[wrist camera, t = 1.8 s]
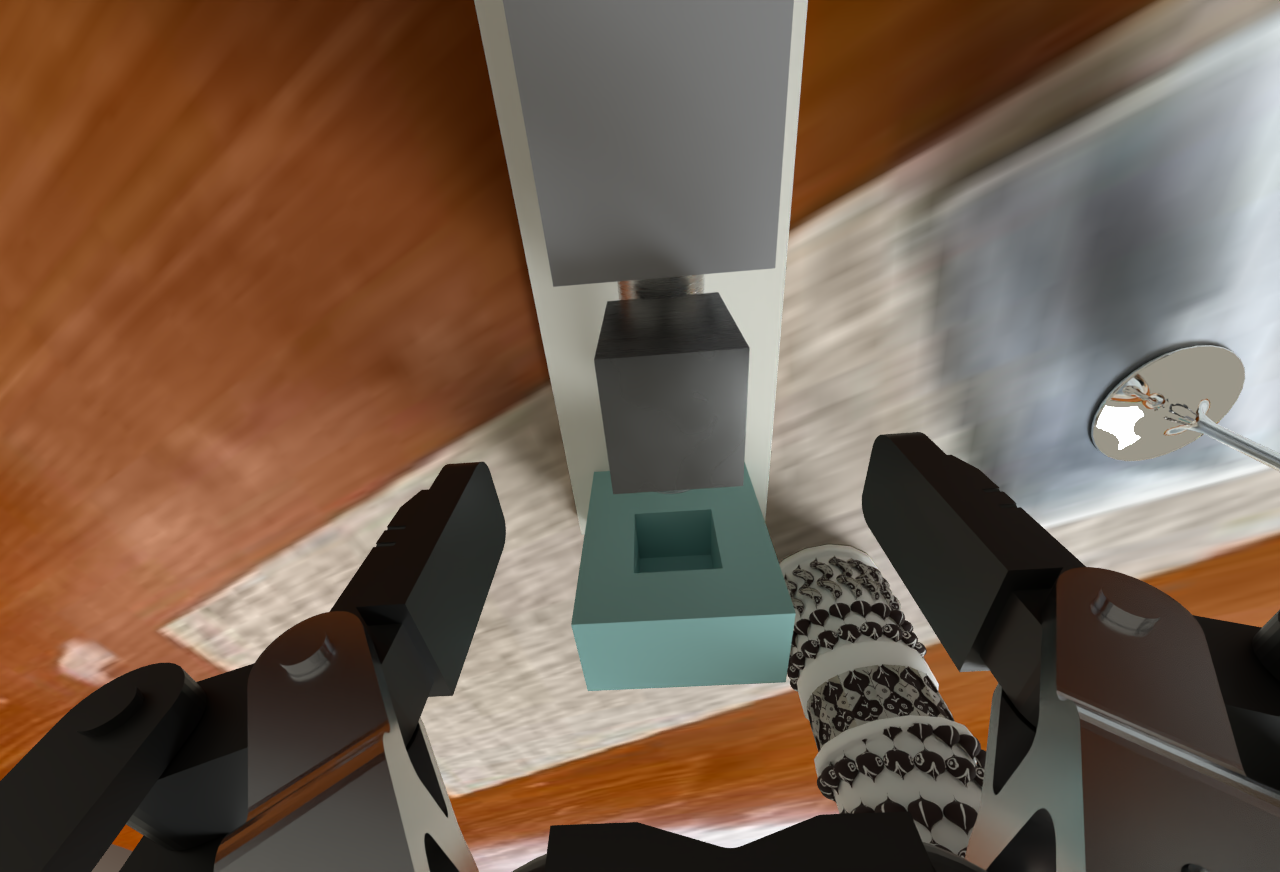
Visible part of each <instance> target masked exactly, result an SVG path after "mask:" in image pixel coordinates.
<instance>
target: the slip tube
mask: <svg viewBox="0 0 1280 872" xmlns="http://www.w3.org/2000/svg"><path fill="white" fill-rule="evenodd" d="M617 284H618V294H619V300H616V301H607V305H606V309H605V313H604V318H603V322H602V327H601V331H600V335H599V340H598V344H597V349H596V353H595V357H594V364H595V371H596V378H597V385H598V392H599V399H600V406H601V413H602V420H603V427H604V434H605V441H606V448H607V455H608V462H609V469H610V476H611V483H612V490H613V494H626V493H642V492H657V493H663V494H677V493H683V492H687V491H689V490H692V489H705V488H721V487H737V486H743V482H744V460H745V438H746V417H747V395H748V373H749V351H750V348H749V346H748V344H747V342H746V341H745V339H744V337H743V335H742V333H741V332H740V330H739V328H738V326H737V325H736V323H735V321H734V319H733V317H732V316H731V314H730V312H729V310H728V309H727V307H726V305H725V303H724V301H723V300H722V298H721V296H720V294H719V293H718V292H714V293H705V289H704V274H701V275H689V276H677V277H665V278H653V279H641V280H629V281H617Z"/></svg>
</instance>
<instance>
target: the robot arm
mask: <svg viewBox="0 0 1280 872" xmlns="http://www.w3.org/2000/svg"><path fill="white" fill-rule="evenodd" d="M862 509H863V514H864V518H865V521H866V523H867V525H868V527H869V528H870V530H871V532H872V533H873V535H874V536H875V538H876V539H877V541H878V543H879V544H880V546H881V547H882V549H883V551H884V552H885V554H886V555H887V557H888V559H889V560H890V562H891V563H892V565H893V567H894V568H895V570H896V571H897V573H898V575H899V576H900V578H901V579H902V581H903V583H904V584H905V586H906V587H907V589H908V591H909V592H910V594H911V595H912V597H913V598H914V600H915V602H916V603H917V605H918V606H919V608H920V610H921V611H922V613H923V614H924V616H925V618H926V619H927V621H928V622H929V624H930V626H931V627H932V629H933V630H934V632H935V634H936V635H937V637H938V638H939V640H940V642H941V643H942V645H943V646H944V648H945V650H946V651H947V653H948V654H949V656H950V657H951V659H952V661H953V662H954V664H955V665H956V667H957V669H958V670H959V672H968V671H987V670H990V671H991V673H992V674H993V675H994V677H995V678H996V680H997V681H998V685H997V687H996V689H995V691H994V693H993V698H992V707H991V716H990V725H989V734H988V743H987V751H986V760H985V769H984V778H983V787H982V796H981V803H980V808H979V812H978V816H977V819H976V822H975V825H974V827H973V830H972V833H971V836H970V839H969V843H968V846H967V850H966V855H965V859H964V858H962V857H960V856H958V855H956V854H954V853H951V852H949V851H947V850H944V849H942V848H939V847H937V846H934V845H932V844H929V843H925V842H922V840H921V837H920V835H919V832H918V830H917V828H916V825H915V823H914V820H913V818H912V816H911V813H910V811H905V812H880V813H855V814H830V815H818V816H816V817H813V818H811V819H808V820H806V821H803V822H801V823H798V824H796V825H793V826H791V827H788V828H786V829H783V830H781V831H778V832H776V833H773V834H771V835H768V836H766V837H763V838H761V839H758V840H756V841H753V842H751V843H748V844H746V845H743V846H740V847H737V848H724V847H720V846H716V845H713V844H709V843H706V842H703V841H699V840H696V839H692V838H689V837H686V836H682V835H679V834H675V833H672V832H668V831H665V830H662V829H658V828H655V827H651V826H648V825H645V824H641V823H638V822H630V823H605V824H580V825H555V826H550V834H549V841H548V849H547V854H545V855H543V856H540V857H538V858H536V859H534V860H532V861H530V862H528V863H527V864H525V865H523V866H521V867H519V868H518V869H516V870H514V871H513V872H1280V610H1279V611H1278V612H1277V613H1276V614H1275V615H1274V616H1273V617H1272V618H1271V619H1270V620H1269V621H1268V622H1267V623H1266V624H1265V625H1264V626H1263V627H1262V628H1261V627H1255V626H1250V625H1244V624H1238V623H1233V622H1227V621H1222V620H1216V619H1210V618H1205V617H1199V616H1194V615H1192V614H1191V613H1190V612H1189V611H1188V610H1187V609H1185V608H1184V607H1183V606H1182V605H1181V604H1180V603H1178V602H1177V601H1176V600H1174V599H1173V598H1171V597H1170V596H1169V595H1167V594H1165V593H1164V592H1162V591H1160V590H1159V589H1157V588H1155V587H1153V586H1151V585H1149V584H1147V583H1145V582H1143V581H1140V580H1138V579H1136V578H1133V577H1131V576H1128V575H1125V574H1122V573H1118V572H1115V571H1111V570H1106V569H1101V568H1092V567H1086V566H1085V565H1083V564H1082V563H1081V562H1080V561H1079V560H1078V559H1077V558H1076V557H1075V556H1074V555H1072V554H1071V553H1070V552H1069V551H1068V550H1067V549H1066V548H1065V547H1064V546H1063V545H1062V544H1060V543H1059V542H1058V541H1057V540H1056V539H1055V538H1054V537H1053V536H1052V535H1051V534H1049V533H1048V532H1047V531H1046V530H1045V529H1044V528H1043V527H1042V526H1041V525H1040V524H1038V523H1037V522H1036V521H1035V520H1034V519H1033V518H1032V517H1031V516H1030V515H1029V514H1027V513H1026V512H1025V511H1024V510H1023V509H1022V508H1021V507H1020V508H1017V506H1016V503H1015V502H1014V501H1013V500H1012V499H1011V498H1010V497H1009V496H1008V495H1007V494H1006V493H1004V492H1000V491H999V487H998V486H997V485H996V484H995V483H993V482H992V481H991V480H990V479H989V478H988V477H987V476H986V475H985V474H984V473H982V472H981V471H980V470H979V469H977V468H975V467H973V466H972V465H970V464H968V463H966V462H964V461H962V460H960V459H958V458H956V457H955V456H953V455H946V454H945V453H944V452H943V451H942V450H941V449H940V448H939V447H938V446H937V445H936V444H935V443H934V442H932V441H931V440H930V439H929V438H928V437H927V436H926V435H925V434H923V433H921V432H913V433H899V434H885V435H879V436H878V437H877V438H876V440H875V441H874V444H873V448H872V453H871V457H870V462H869V466H868V471H867V476H866V480H865V485H864V490H863V494H862ZM387 527H388V530H385V531H384V532H383V534H382V535H381V537H380V538H379V540H378V541H377V543H376V544H377V546H376V547H373V549H372V550H371V552H370V553H369V554H368V556H367V557H366V559H365V560H364V562H363V563H362V565H361V566H360V568H359V569H358V571H357V572H356V574H355V575H354V577H353V578H352V580H351V581H350V582H349V584H348V585H347V587H346V588H345V590H344V591H343V593H342V594H341V596H340V597H339V599H338V600H337V602H336V603H335V605H334V606H333V608H332V609H331V611H330V612H327V613H322V614H319V615H316V616H313V617H311V618H308V619H306V620H304V621H302V622H300V623H298V624H296V625H295V626H293V627H291V628H290V629H288V630H287V631H285V632H284V633H283V634H282V635H280V636H279V637H278V638H276V639H275V640H274V641H273V642H272V643H271V644H270V645H269V646H268V647H267V648H266V649H265V650H264V651H263V653H262V654H261V655H260V656H259V658H258V659H257V661H256V662H255V663H254V664H251V665H248V666H245V667H242V668H239V669H236V670H233V671H229V672H226V673H223V674H220V675H217V676H214V677H211V678H208V679H205V680H202V681H198V682H195V681H194V680H193V679H192V678H191V677H190V676H189V675H188V674H187V673H186V672H185V671H184V670H183V669H182V668H181V667H180V666H178V665H176V664H173V663H157V664H152V665H148V666H145V667H141V668H139V669H136V670H133V671H131V672H129V673H126V674H124V675H122V676H120V677H118V678H116V679H114V680H113V681H111V682H109V683H107V684H105V685H104V686H102V687H101V688H99V689H98V690H96V691H95V692H93V693H92V694H90V695H89V696H88V697H86V698H85V699H83V700H82V701H81V702H80V703H78V704H77V705H76V706H75V707H74V708H72V709H71V710H70V711H69V712H68V713H67V714H66V715H65V716H64V717H63V718H62V719H61V720H60V721H59V722H58V723H57V724H56V725H55V726H54V727H53V728H52V729H51V730H50V731H49V732H48V733H47V734H46V735H45V736H44V737H43V738H42V739H41V740H40V741H39V742H38V743H37V744H36V745H35V746H34V747H33V748H32V749H31V750H30V751H29V752H28V753H27V754H26V755H25V756H24V757H23V758H22V760H21V761H20V762H19V763H18V764H17V765H16V766H15V767H14V768H13V769H12V770H11V771H10V772H9V773H8V774H7V775H6V776H5V777H4V778H3V779H2V780H1V781H0V872H91V871H92V870H93V868H94V867H95V866H96V865H97V863H98V862H99V860H100V859H101V858H102V856H103V855H104V853H105V852H106V851H107V849H108V848H109V847H110V845H111V844H112V842H113V841H114V840H115V838H116V837H117V835H118V834H119V833H120V831H121V830H122V829H123V827H124V826H125V824H127V825H128V826H130V827H131V828H133V829H135V830H136V831H138V832H139V833H141V834H143V835H144V836H143V837H142V839H141V840H140V842H139V843H138V845H137V846H136V848H135V849H134V851H133V852H132V854H131V855H130V856H129V858H128V859H127V861H126V862H125V864H124V865H123V867H122V868H121V870H120V871H119V872H479V870H478V868H477V866H476V863H475V861H474V859H473V856H472V854H471V852H470V850H469V848H468V846H467V844H466V842H465V840H464V838H463V835H462V833H461V831H460V828H459V826H458V823H457V820H456V818H455V815H454V812H453V809H452V806H451V803H450V800H449V797H448V794H447V791H446V788H445V785H444V782H443V779H442V776H441V773H440V770H439V767H438V764H437V762H436V759H435V756H434V753H433V750H432V747H431V744H430V741H429V738H428V735H427V732H426V729H425V726H424V724H423V722H422V720H421V718H420V716H421V714H422V711H423V708H424V706H425V703H426V701H427V698H428V697H433V696H453V694H454V691H455V688H456V685H457V682H458V679H459V676H460V673H461V670H462V668H463V665H464V662H465V659H466V656H467V653H468V650H469V647H470V644H471V641H472V638H473V635H474V633H475V630H476V627H477V624H478V621H479V618H480V615H481V612H482V609H483V606H484V603H485V600H486V598H487V595H488V592H489V589H490V586H491V583H492V580H493V577H494V574H495V571H496V568H497V565H498V563H499V560H500V557H501V554H502V551H503V548H504V544H505V537H506V527H505V519H504V516H503V512H502V509H501V506H500V503H499V499H498V496H497V493H496V490H495V486H494V483H493V480H492V477H491V473H490V470H489V468H488V466H487V465H486V464H485V463H484V462H473V463H459V464H447V465H445V466H444V467H443V468H442V470H441V471H440V473H439V475H438V476H437V478H436V479H435V481H434V483H433V484H432V486H431V487H430V489H429V490H421V491H420V492H419V493H417V494H416V495H415V496H414V497H412V498H411V499H410V500H409V501H408V502H406V503H405V504H404V505H403V506H401V507H400V509H399V510H398V512H397V513H396V515H395V516H394V518H393V519H392V521H391V522H390V523H389V525H388V526H387Z"/></svg>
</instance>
